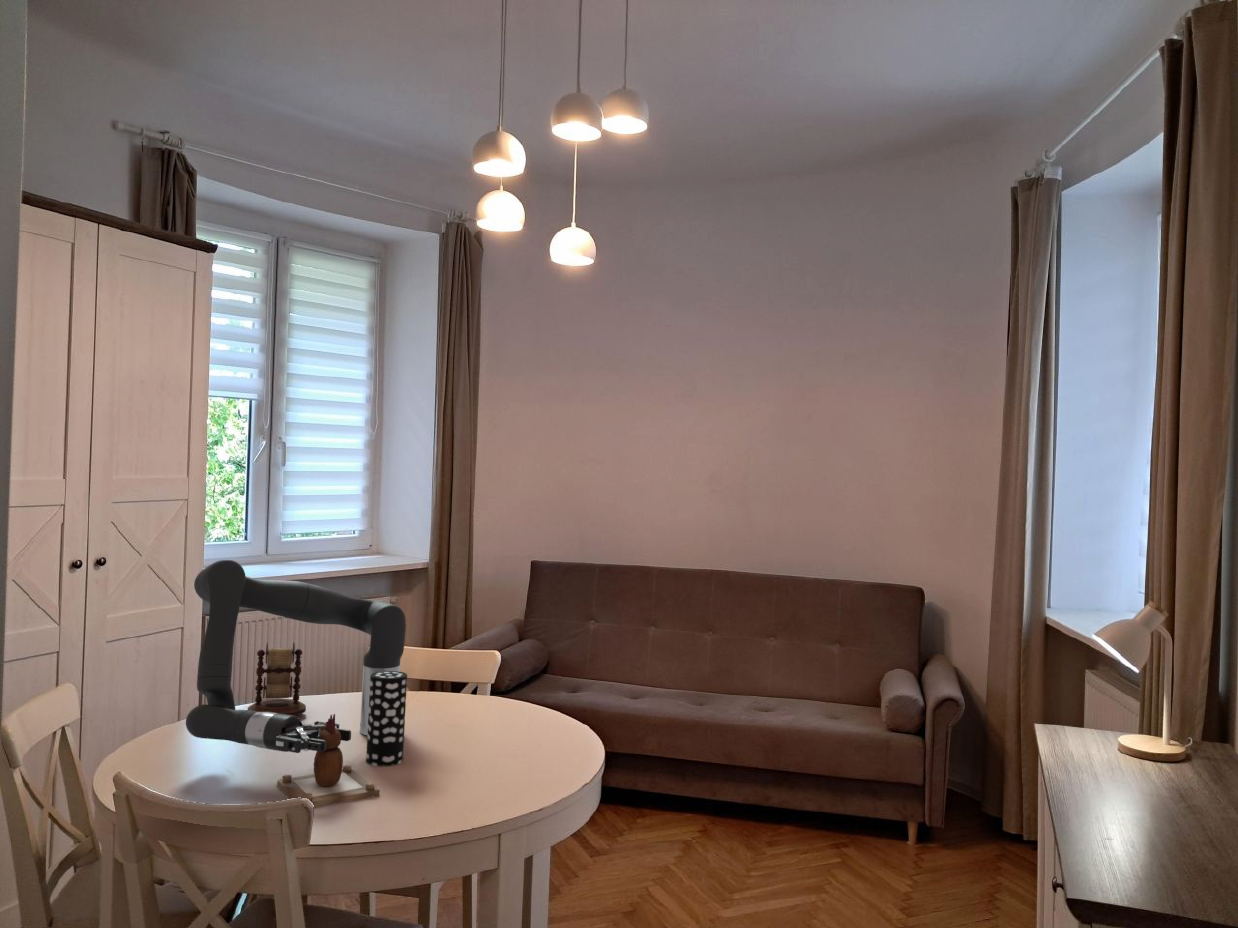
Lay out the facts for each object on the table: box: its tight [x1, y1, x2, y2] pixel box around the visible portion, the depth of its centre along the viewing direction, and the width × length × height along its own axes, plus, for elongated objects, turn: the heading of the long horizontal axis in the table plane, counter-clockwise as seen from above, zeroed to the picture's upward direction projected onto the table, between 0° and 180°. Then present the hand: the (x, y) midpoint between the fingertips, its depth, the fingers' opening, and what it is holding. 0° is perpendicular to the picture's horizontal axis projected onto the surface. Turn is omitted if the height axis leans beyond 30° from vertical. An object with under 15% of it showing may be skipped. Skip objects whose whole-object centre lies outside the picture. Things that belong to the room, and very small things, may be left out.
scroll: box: [246, 641, 307, 718], centre depth 244 cm, size 15×15×20 cm
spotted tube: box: [365, 671, 408, 767], centre depth 211 cm, size 8×8×20 cm
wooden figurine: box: [313, 713, 344, 787], centre depth 190 cm, size 7×6×15 cm
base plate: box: [276, 764, 381, 808], centre depth 189 cm, size 16×16×2 cm
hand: (338, 740), depth 189 cm, fingers open, 8 cm apart
